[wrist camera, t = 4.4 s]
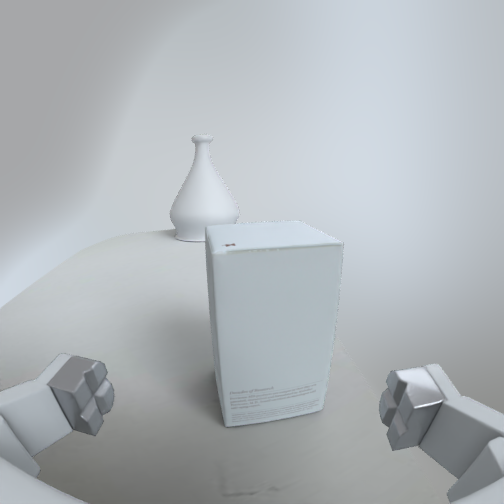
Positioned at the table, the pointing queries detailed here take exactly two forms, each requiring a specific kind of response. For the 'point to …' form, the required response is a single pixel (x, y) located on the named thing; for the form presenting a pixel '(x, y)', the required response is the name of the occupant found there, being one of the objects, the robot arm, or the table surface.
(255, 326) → the white packaging box
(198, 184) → the vase
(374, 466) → the table surface
